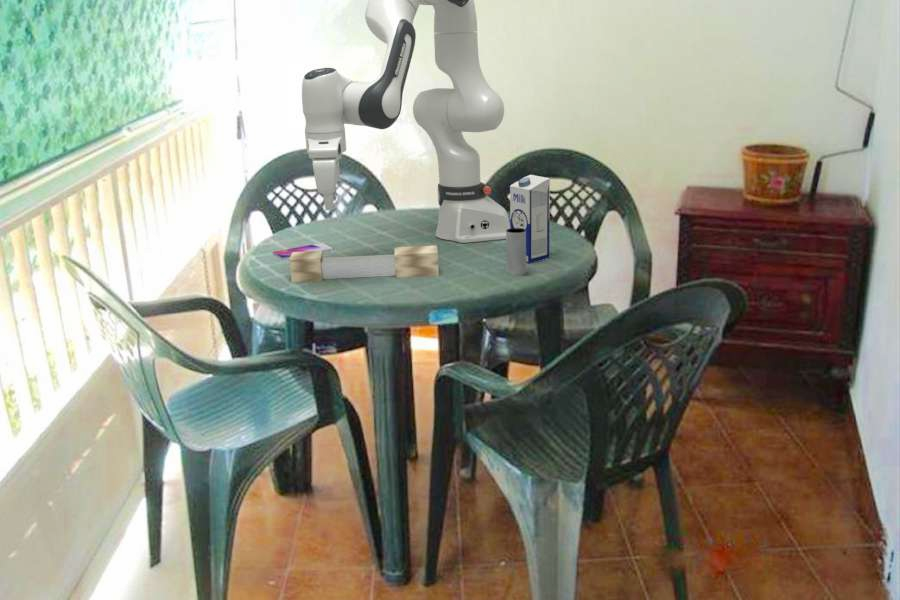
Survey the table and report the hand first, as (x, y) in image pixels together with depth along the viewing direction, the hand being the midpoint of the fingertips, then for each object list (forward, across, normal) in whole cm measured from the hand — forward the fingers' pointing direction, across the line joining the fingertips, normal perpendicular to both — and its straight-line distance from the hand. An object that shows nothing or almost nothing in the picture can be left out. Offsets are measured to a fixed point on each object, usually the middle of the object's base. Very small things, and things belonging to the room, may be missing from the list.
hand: (331, 204), depth 192 cm
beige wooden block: (+17, +1, -7) cm, 18 cm away
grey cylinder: (+17, +5, +42) cm, 46 cm away
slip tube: (+17, +1, +5) cm, 18 cm away
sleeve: (+17, +1, +19) cm, 25 cm away
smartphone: (+18, -23, -10) cm, 31 cm away
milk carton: (+18, -7, +47) cm, 50 cm away
